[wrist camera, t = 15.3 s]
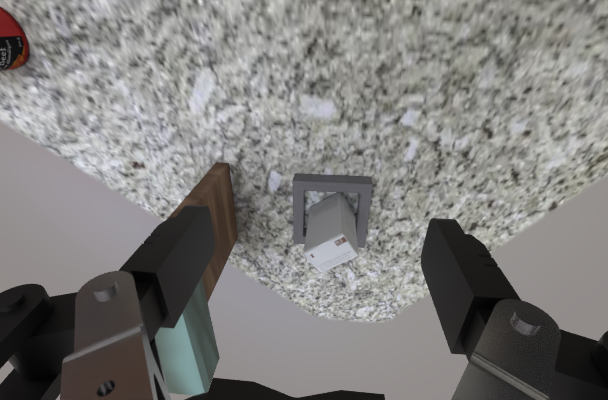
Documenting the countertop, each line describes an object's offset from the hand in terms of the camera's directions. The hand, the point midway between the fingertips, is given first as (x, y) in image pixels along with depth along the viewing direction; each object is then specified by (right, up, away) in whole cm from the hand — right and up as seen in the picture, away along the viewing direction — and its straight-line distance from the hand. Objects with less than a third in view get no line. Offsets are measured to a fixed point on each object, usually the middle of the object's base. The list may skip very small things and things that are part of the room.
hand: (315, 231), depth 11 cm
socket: (+4, 0, +38) cm, 38 cm away
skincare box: (+4, 0, +38) cm, 38 cm away
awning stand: (-11, +1, +39) cm, 41 cm away
